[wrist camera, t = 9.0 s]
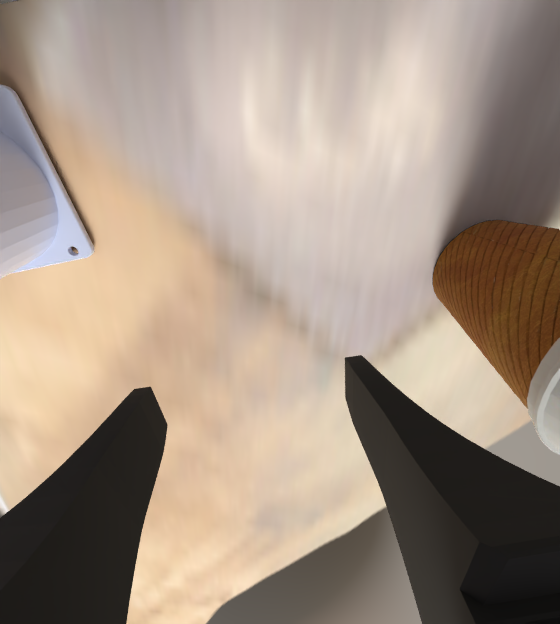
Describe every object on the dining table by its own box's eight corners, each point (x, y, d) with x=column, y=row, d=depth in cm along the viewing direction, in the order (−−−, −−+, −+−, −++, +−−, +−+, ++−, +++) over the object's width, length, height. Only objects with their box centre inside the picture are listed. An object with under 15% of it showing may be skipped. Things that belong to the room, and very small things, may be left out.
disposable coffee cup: (477, 162, 17) (827, 200, 7) (582, 232, 20) (947, 337, 10) (380, 301, 21) (508, 460, 11) (479, 344, 24) (658, 505, 13)
